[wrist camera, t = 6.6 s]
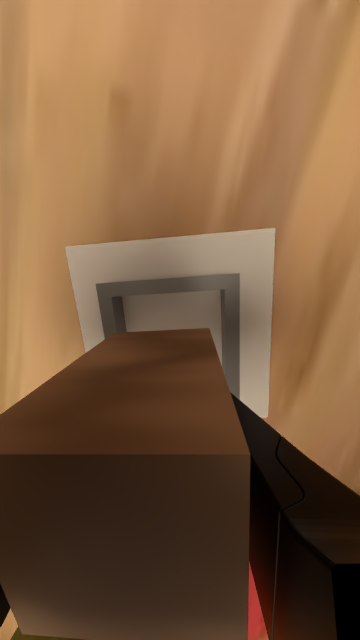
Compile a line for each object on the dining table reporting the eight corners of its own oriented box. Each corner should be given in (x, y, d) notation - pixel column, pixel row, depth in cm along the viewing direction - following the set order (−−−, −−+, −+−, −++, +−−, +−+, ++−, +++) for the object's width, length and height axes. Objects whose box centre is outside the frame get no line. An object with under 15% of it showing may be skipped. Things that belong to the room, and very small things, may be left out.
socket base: (269, 230, 15) (289, 219, 12) (263, 410, 18) (277, 435, 15) (72, 248, 16) (45, 242, 13) (103, 413, 19) (87, 437, 17)
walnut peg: (209, 327, 10) (250, 454, 3) (212, 413, 11) (247, 652, 4) (113, 332, 10) (-55, 453, 3) (126, 414, 11) (21, 634, 4)
